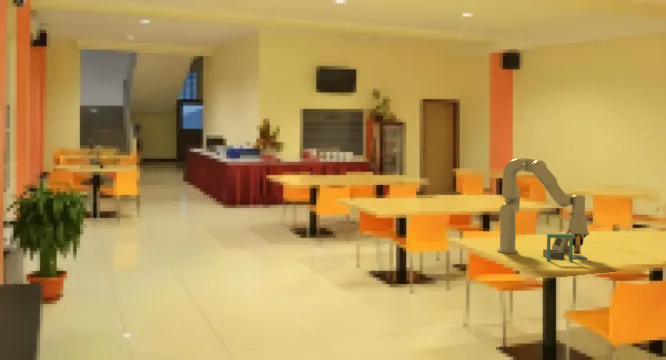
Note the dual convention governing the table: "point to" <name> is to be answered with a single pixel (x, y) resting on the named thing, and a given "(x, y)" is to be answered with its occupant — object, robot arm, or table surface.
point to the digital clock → (561, 244)
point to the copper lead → (577, 244)
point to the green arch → (560, 237)
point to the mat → (578, 257)
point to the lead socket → (554, 253)
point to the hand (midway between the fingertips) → (577, 244)
